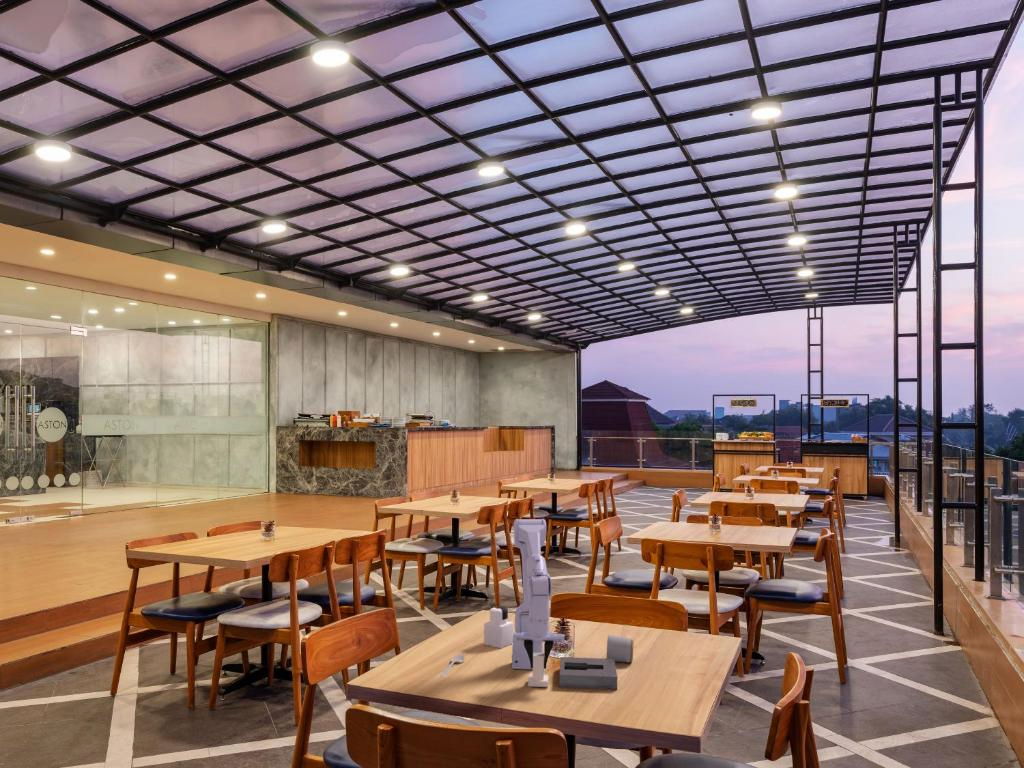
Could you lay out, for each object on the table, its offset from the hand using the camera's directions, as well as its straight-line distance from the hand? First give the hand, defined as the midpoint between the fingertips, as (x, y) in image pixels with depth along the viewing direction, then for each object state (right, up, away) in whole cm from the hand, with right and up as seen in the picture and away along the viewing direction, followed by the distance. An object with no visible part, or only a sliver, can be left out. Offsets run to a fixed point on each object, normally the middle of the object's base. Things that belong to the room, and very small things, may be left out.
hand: (538, 667), depth 215 cm
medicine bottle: (-12, -7, +38) cm, 40 cm away
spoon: (-26, -6, +13) cm, 30 cm away
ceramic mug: (+26, -6, +23) cm, 35 cm away
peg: (0, -4, 0) cm, 4 cm away
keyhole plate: (+14, -5, +5) cm, 16 cm away
